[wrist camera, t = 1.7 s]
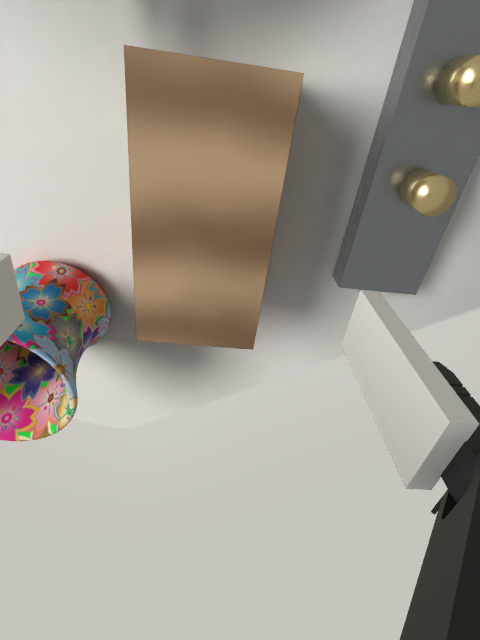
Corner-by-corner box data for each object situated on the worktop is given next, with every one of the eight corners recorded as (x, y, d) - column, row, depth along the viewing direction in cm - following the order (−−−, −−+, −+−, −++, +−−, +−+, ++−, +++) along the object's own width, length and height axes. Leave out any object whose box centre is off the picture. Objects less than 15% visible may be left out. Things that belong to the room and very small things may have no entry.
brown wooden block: (151, 56, 21) (124, 45, 15) (282, 76, 22) (303, 73, 16) (153, 290, 30) (136, 340, 24) (247, 299, 31) (253, 349, 25)
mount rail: (449, -118, 18) (511, -175, 14) (564, -93, 18) (654, -141, 15) (332, 276, 30) (348, 303, 26) (404, 283, 30) (431, 311, 26)
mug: (113, 256, 28) (61, 334, 19) (122, 348, 33) (85, 444, 24) (-48, 243, 27) (-181, 320, 18) (-13, 341, 32) (-104, 438, 23)
